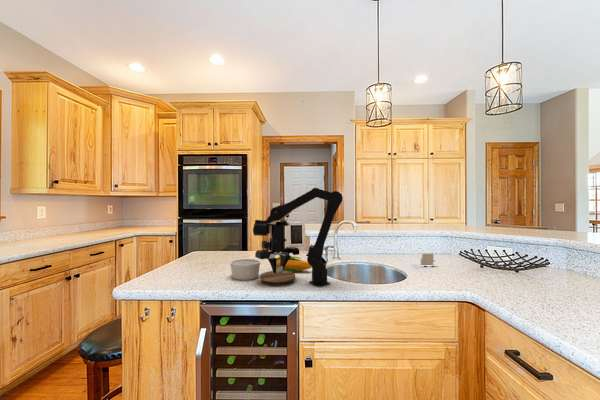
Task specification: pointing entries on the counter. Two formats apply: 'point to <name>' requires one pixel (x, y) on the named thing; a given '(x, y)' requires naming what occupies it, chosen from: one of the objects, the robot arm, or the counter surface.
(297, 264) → the corn
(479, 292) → the counter surface
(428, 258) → the architectural model
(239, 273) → the ramekin
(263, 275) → the lid
